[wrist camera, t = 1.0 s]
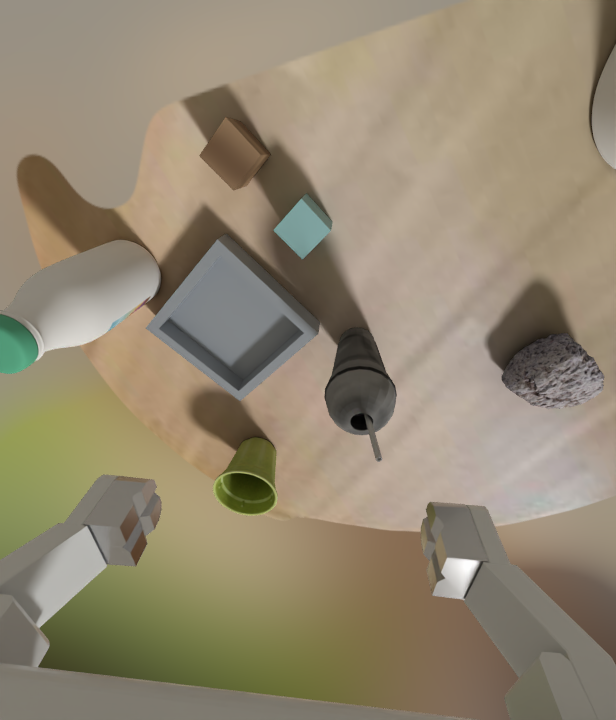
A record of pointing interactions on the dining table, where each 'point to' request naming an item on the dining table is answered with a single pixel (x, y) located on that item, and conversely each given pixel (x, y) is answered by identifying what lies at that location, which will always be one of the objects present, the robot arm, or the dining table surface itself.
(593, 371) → the pumice stone
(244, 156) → the walnut block
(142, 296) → the milk bottle
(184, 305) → the tray
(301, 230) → the teal block
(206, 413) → the dining table surface
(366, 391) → the beverage cup
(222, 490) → the plant pot
